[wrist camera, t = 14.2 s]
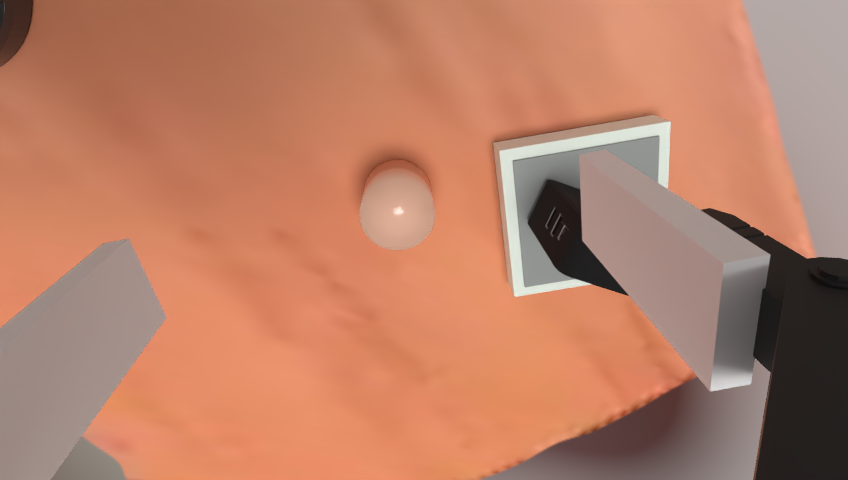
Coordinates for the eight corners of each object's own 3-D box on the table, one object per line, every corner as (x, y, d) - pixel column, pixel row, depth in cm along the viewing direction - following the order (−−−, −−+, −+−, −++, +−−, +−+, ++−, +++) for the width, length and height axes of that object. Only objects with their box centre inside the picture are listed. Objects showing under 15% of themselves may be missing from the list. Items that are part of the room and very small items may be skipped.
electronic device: (545, 176, 41) (586, 220, 32) (648, 212, 43) (716, 264, 33) (524, 220, 42) (558, 275, 33) (625, 253, 44) (683, 314, 35)
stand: (508, 281, 49) (515, 298, 46) (493, 142, 43) (499, 151, 40) (649, 257, 48) (666, 273, 45) (653, 114, 42) (672, 121, 39)
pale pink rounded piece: (372, 227, 46) (368, 255, 40) (358, 165, 43) (351, 186, 38) (435, 216, 46) (440, 243, 40) (425, 154, 43) (428, 173, 38)
